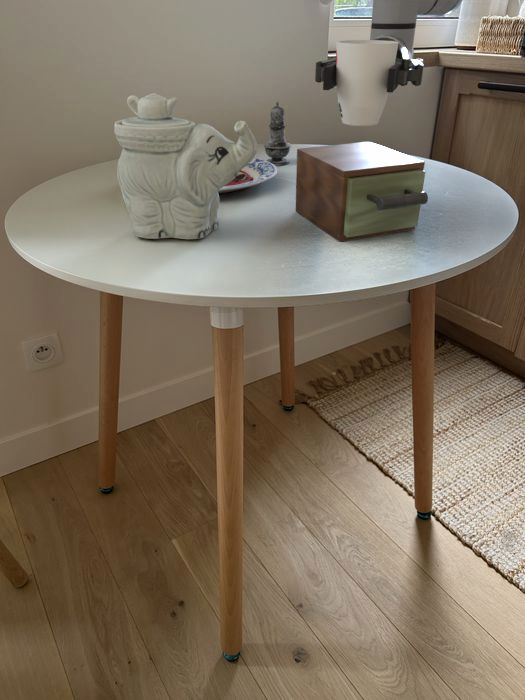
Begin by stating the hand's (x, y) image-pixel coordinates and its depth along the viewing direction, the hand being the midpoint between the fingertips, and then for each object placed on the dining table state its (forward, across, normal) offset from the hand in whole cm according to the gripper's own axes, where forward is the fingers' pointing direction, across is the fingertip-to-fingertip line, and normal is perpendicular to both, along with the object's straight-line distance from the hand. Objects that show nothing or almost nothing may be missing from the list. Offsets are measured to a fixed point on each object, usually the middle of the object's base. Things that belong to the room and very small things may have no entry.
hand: (358, 79), depth 70 cm
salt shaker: (-37, +22, -20) cm, 47 cm away
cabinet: (-5, 0, -20) cm, 21 cm away
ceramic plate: (-19, +30, -20) cm, 41 cm away
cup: (-5, 0, -6) cm, 8 cm away
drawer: (-2, -3, -19) cm, 19 cm away
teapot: (+7, +22, -20) cm, 31 cm away
